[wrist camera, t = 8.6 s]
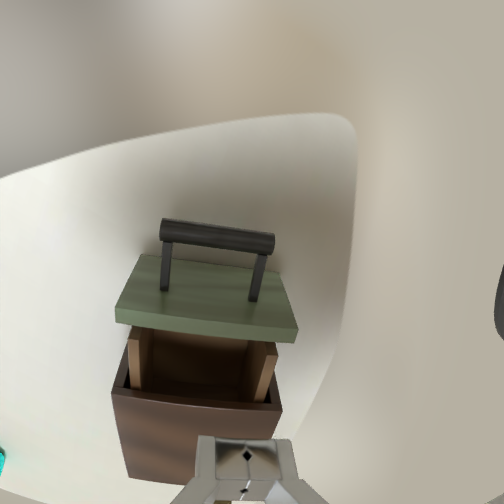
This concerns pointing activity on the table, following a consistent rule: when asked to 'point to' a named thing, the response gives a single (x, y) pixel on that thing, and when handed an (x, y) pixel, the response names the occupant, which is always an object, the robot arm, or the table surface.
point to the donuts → (1, 462)
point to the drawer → (205, 317)
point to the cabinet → (181, 426)
